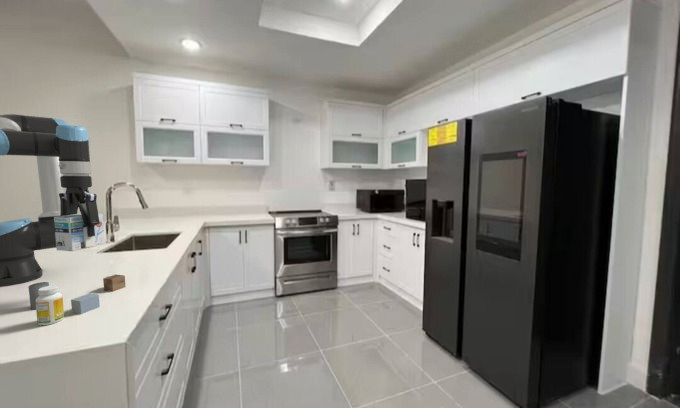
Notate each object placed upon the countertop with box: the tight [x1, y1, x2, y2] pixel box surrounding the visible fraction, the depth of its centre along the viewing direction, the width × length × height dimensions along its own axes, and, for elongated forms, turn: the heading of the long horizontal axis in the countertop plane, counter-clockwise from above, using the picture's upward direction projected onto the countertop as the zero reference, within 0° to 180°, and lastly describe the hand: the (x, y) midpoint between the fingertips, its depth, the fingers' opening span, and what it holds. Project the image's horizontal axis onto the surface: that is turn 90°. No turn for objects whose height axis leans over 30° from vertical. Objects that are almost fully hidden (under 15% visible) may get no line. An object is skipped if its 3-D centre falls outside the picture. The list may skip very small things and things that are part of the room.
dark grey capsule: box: [27, 281, 50, 311], centre depth 92 cm, size 4×4×7 cm
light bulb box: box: [54, 212, 105, 252], centre depth 97 cm, size 11×7×11 cm, turn 168°
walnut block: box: [102, 274, 126, 292], centre depth 106 cm, size 4×4×4 cm
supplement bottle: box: [35, 284, 65, 326], centre depth 82 cm, size 5×5×10 cm
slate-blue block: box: [70, 292, 101, 315], centre depth 89 cm, size 4×5×4 cm
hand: (81, 245), depth 97 cm, fingers closed on light bulb box, 7 cm apart
